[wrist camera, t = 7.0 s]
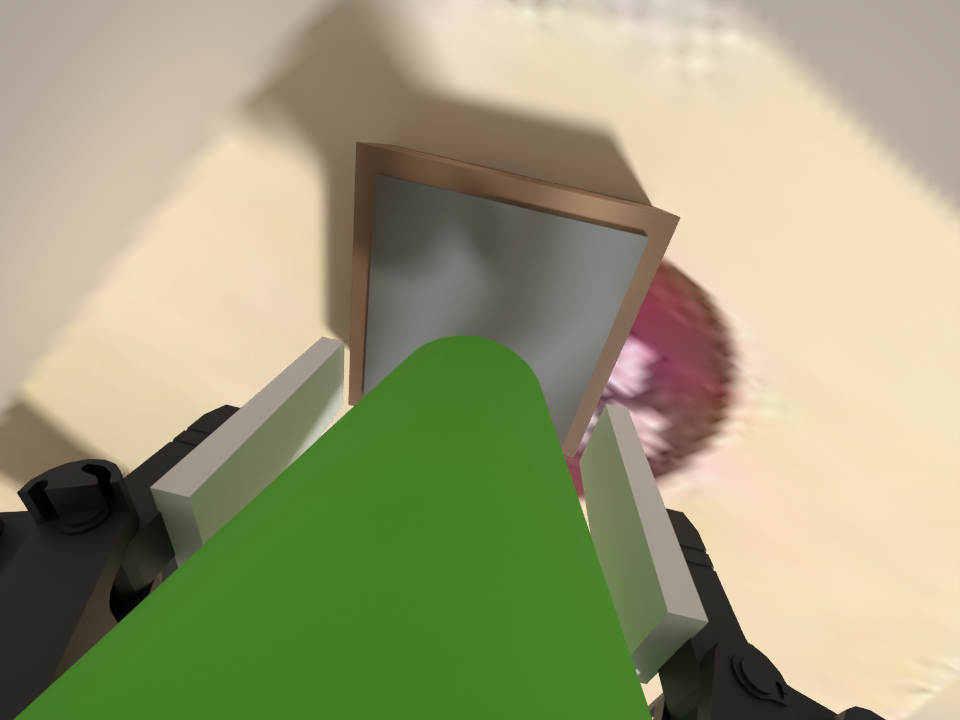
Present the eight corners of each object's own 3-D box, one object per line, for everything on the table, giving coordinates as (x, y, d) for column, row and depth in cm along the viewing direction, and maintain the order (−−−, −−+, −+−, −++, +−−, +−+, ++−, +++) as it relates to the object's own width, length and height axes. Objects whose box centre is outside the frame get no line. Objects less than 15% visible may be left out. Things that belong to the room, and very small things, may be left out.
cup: (299, 336, 13) (-316, 819, 4) (540, 220, 10) (642, 1006, 1) (426, 504, 17) (284, 976, 7) (632, 451, 14) (857, 1114, 4)
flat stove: (372, 371, 26) (346, 407, 22) (387, 144, 19) (353, 141, 15) (567, 417, 26) (574, 460, 22) (652, 206, 19) (683, 218, 15)
